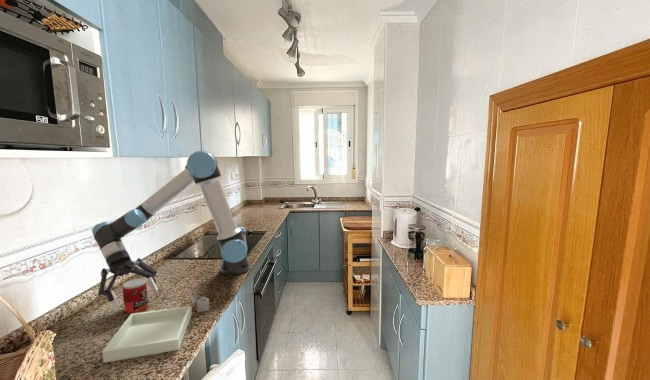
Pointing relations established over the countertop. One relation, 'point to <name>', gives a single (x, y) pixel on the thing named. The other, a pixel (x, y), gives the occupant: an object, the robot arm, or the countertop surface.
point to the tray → (149, 334)
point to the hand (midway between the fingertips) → (138, 299)
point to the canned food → (135, 296)
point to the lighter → (200, 302)
